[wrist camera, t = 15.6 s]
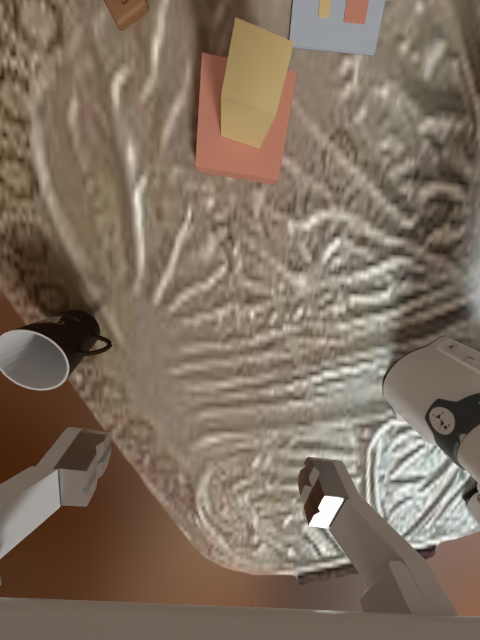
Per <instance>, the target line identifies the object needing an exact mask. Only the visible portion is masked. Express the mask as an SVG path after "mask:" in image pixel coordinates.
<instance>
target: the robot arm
mask: <svg viewBox="0 0 480 640" xmlns="http://www.w3.org/2000/svg"><path fill="white" fill-rule="evenodd" d="M383 392H384V396H385V399H386V400H387V402H388V403H389V404H390V405H391V406H392V408H393V413H394V416H395V418H397V419H398V420H399V421H402V422H404V421H406V422H407V423H408V424H409V425H410V426H411V427H412V428H413V429H414V430H415V431H416V432H417V433H419V434H420V435H421V436H422V437H423V438H424V439H425V440H426V441H427V442H428V443H430V444H431V445H436V446H439V447H440V449H441V450H442V451H443V452H444V454H445V455H446V456H447V457H448V458H449V459H450V460H452V461H453V462H454V463H455V464H456V465H457V466H459V467H460V468H462V469H464V470H466V471H467V472H468V473H469V474H470V475H471V476H472V477H473V478H474V479H475V480H476V481H477V482H478V483H479V484H480V351H477V350H475V349H473V348H471V347H469V346H467V345H465V344H462V343H460V342H458V341H456V340H454V339H452V338H449V337H446V336H444V337H441V338H439V339H438V340H436V341H435V342H433V343H432V344H430V345H429V346H427V347H425V348H422V349H419V350H416V351H414V352H411V353H409V354H408V355H406V356H404V357H403V358H402V359H400V360H399V361H398V362H397V363H396V364H395V365H394V366H393V367H392V368H391V370H390V371H389V372H388V374H387V376H386V378H385V381H384V386H383ZM110 441H111V433H108V432H102V431H95V430H89V429H81V428H73V427H69V428H67V429H66V430H65V431H64V432H63V433H62V435H61V436H60V437H59V438H58V440H57V441H56V442H55V444H54V445H53V446H52V447H51V449H50V450H49V451H48V452H47V453H46V455H45V456H44V457H43V458H42V460H41V461H40V462H39V464H38V465H37V466H36V467H29V468H28V469H26V470H24V471H23V472H21V473H19V474H18V475H16V476H14V477H12V478H11V479H9V480H7V481H5V482H4V483H2V484H0V559H1V558H2V557H3V556H4V555H5V554H6V553H8V552H9V551H10V550H11V549H12V548H13V547H15V546H16V545H17V544H18V543H19V542H20V541H21V540H22V539H24V538H25V537H26V536H27V535H28V534H30V533H31V532H32V531H33V530H34V529H35V528H36V527H38V526H39V525H40V524H41V523H42V522H43V521H44V520H46V519H47V518H48V517H49V516H50V515H51V514H53V513H54V512H55V511H56V510H57V509H58V508H60V505H68V506H69V505H70V506H87V505H88V503H89V501H90V499H91V497H92V495H93V493H94V491H95V489H96V487H97V479H98V478H99V477H100V476H102V475H103V473H104V471H105V469H106V467H107V464H108V461H109V458H110V454H111V447H110V446H109V443H110ZM304 464H305V468H303V469H301V471H300V473H299V477H298V486H299V492H300V495H301V496H302V498H303V499H304V500H305V504H304V510H305V514H306V518H307V521H308V525H309V526H315V527H323V528H329V531H330V532H331V534H332V535H333V536H334V538H335V539H336V541H337V542H338V544H339V545H340V546H341V548H342V549H343V551H344V552H345V554H346V555H347V557H348V558H349V559H350V561H351V562H352V564H353V565H354V567H355V568H356V569H357V571H358V572H359V574H360V575H361V576H362V578H363V579H364V581H365V582H366V584H367V585H368V588H367V590H366V591H365V592H364V593H363V594H362V596H361V598H360V603H361V606H362V608H363V612H354V611H328V610H304V609H279V608H254V607H229V606H204V605H203V606H202V605H180V604H154V603H130V602H104V601H79V600H54V599H28V598H3V597H2V598H1V597H0V640H480V617H477V616H459V615H458V613H457V611H456V610H455V608H454V606H453V605H452V603H451V601H450V600H449V598H448V596H447V595H446V593H445V591H444V589H443V588H442V586H441V584H440V583H439V581H438V579H437V578H436V576H435V574H434V572H433V571H432V569H431V567H430V566H429V564H428V562H427V561H426V560H425V559H424V558H423V557H422V556H421V555H420V554H419V553H418V552H417V551H416V550H415V549H414V548H413V547H412V546H411V545H410V544H409V543H408V542H407V541H406V540H404V539H403V538H402V537H401V536H400V535H399V534H398V533H397V532H396V531H395V530H394V529H393V528H392V527H391V526H390V525H389V524H388V523H387V522H386V521H385V520H384V519H383V518H382V517H381V516H380V515H379V514H378V513H377V512H376V511H375V510H374V509H373V508H372V507H371V506H370V505H369V504H368V503H367V502H366V501H362V499H361V497H360V495H359V493H358V491H357V489H356V487H355V485H354V483H353V481H352V479H351V477H350V475H349V473H348V471H347V469H346V467H345V465H344V463H343V462H342V461H338V460H329V459H323V458H313V457H308V458H306V460H305V462H304ZM0 585H1V578H0Z"/></svg>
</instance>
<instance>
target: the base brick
mask: <svg viewBox="0 0 480 640" xmlns="http://www.w3.org/2000/svg"><path fill="white" fill-rule="evenodd" d="M227 60H228V58H226V57H222V56H217V55H212V54H207V53H203V52H202V61H201V78H200V95H199V112H198V129H197V146H196V163H195V166H196V168H197V170H198V171H199V172H201V173H207V174H213V175H219V176H225V177H231V178H237V179H243V180H249V181H255V182H261V183H267V184H273V185H274V184H275V183H276V182H277V181H278V180H279V174H280V169H281V163H282V157H283V151H284V145H285V139H286V134H287V128H288V122H289V116H290V110H291V105H292V99H293V93H294V87H295V81H296V75H297V72H292V71H288V70H287V73H286V77H285V81H284V85H283V89H282V93H281V97H280V101H279V105H278V109H277V113H276V116H275V118H274V120H273V122H272V124H271V126H270V128H269V130H268V132H267V134H266V136H265V138H264V140H263V142H262V144H261V146H260V148H259V149H258V148H255V147H252V146H249V145H246V144H243V143H240V142H237V141H234V140H231V139H228V138H225V137H222V136H221V93H222V88H223V82H224V77H225V71H226V66H227Z"/></svg>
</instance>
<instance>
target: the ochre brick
mask: <svg viewBox="0 0 480 640" xmlns="http://www.w3.org/2000/svg"><path fill="white" fill-rule="evenodd" d="M293 45H294V42H293V41H290V40H288V39H286V38H283V37H281V36H279V35H276V34H274V33H272V32H269V31H267V30H264V29H262V28H260V27H257V26H255V25H253V24H250V23H248V22H246V21H243V20H241V19H239V18H236V17H235V22H234V28H233V33H232V38H231V44H230V49H229V55H228V60H227V66H226V71H225V77H224V82H223V88H222V93H221V136H222V137H225V138H228V139H231V140H234V141H237V142H240V143H243V144H246V145H249V146H252V147H255V148H258V149H259V148H260V146H261V144H262V142H263V140H264V138H265V136H266V134H267V132H268V130H269V128H270V126H271V124H272V122H273V120H274V118H275V116H276V113H277V109H278V105H279V101H280V97H281V93H282V89H283V85H284V81H285V77H286V73H287V69H288V65H289V61H290V57H291V53H292V49H293Z"/></svg>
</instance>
